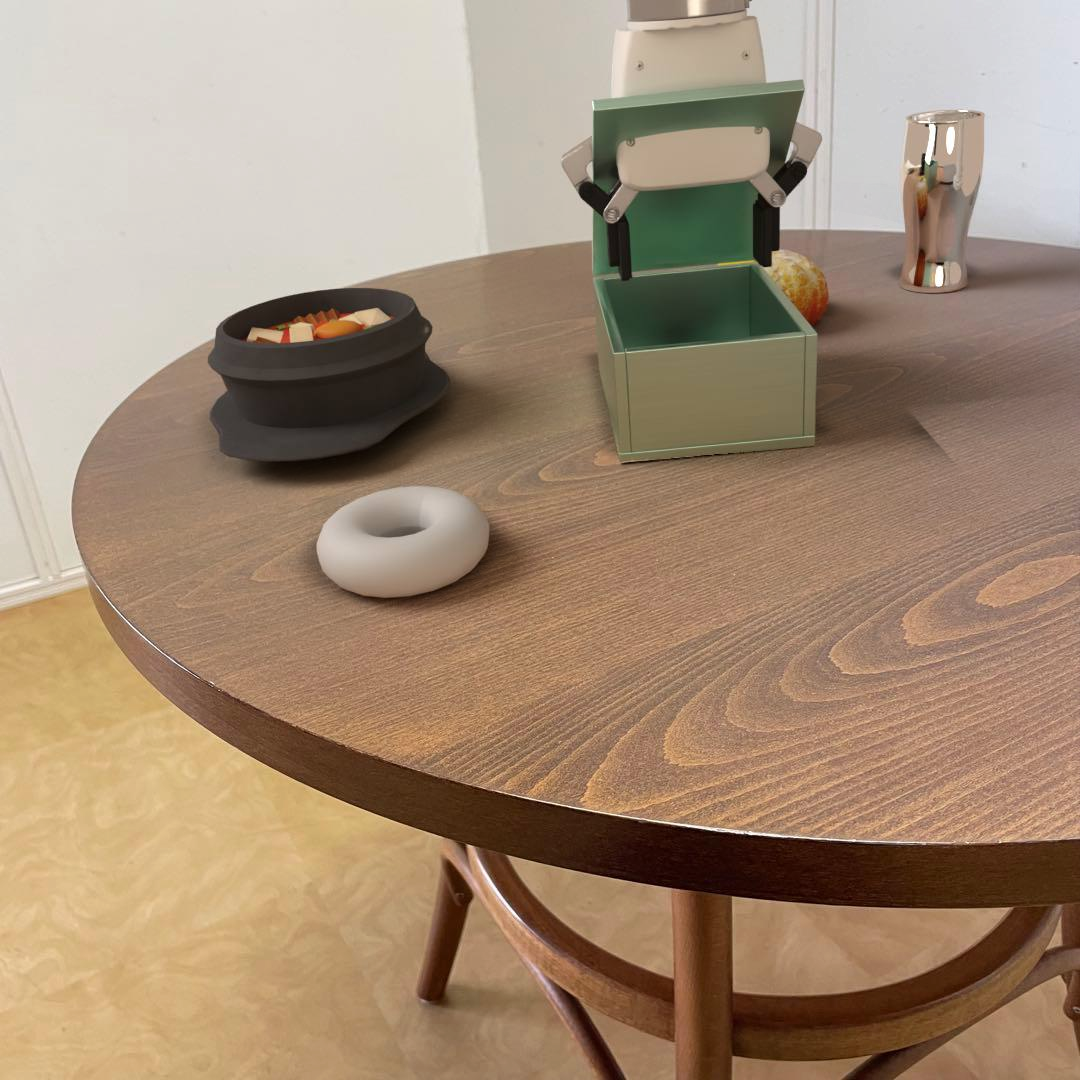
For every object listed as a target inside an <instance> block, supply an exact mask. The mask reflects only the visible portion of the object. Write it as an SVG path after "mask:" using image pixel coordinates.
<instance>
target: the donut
mask: <svg viewBox="0 0 1080 1080" xmlns="http://www.w3.org/2000/svg"><path fill="white" fill-rule="evenodd" d="M489 537H490V523H489V520H488V518H487V516H486V514H485V513H484V512H483V510H482V509H481V507H480V505H478V503H477V502H476V501H474V500H473V499H471V498H470V497H467V496H466V495H464V494H462V493H461V492H459V491H456V490H454V489H453V490H452V489H449V488H445V487H441V486H427V485H411V486H398V487H392V488H388V489H382V490H379V491H375V492H373V493H369V494H367V495H364V496H361V497H359V498H355V499H354V500H352V501H351V502H348V503H347V504H345V505H343V506H342V507H340V508H339V509H338V510H337V511H335V512H334V513H333V514H332V515H331V516H330V517H329V518H328V519H327V520H326V521H325V523H323V525H322V528H321V531H320V533H319V535H318V538H317V540H316V541H317V542H316V554H317V558H318V561H319V565H320V568H321V569H322V572H323V573H324V575H326V576H327V578H329V579H330V580H331V581H332V582H333V583H335V584H336V585H337V586H338V587H340V588H341V589H344V590H346V591H348V592H351V593H355V594H358V595H360V596H364V597H372V598H384V599H388V598H389V599H390V598H402V597H412V596H416V595H420V594H421V595H422V594H425V593H426V594H427V593H430V592H433V591H436V590H439V589H441V588H443V587H446V586H448V585H450V584H454V583H455V582H457V581H458V580H460V579H461V578H463V577H464V576H466V575H467V574H468V573H470V572H471V571H473V569H474V568H475V567H476V566H477V565H478V564H479V563H480V561H481V560H482V559H483V557H484V556H485V554H486V552H487V550H488V546H489V540H490V538H489Z"/></svg>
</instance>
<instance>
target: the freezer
mask: <svg viewBox="0 0 1080 1080" xmlns="http://www.w3.org/2000/svg"><path fill="white" fill-rule="evenodd" d="M717 265H718V264H717ZM717 265H706V266H699V267H698V266H696V267H688V268H687V267H685V268H678V269H677V268H675V269H665V270H656V271H655V270H654V271H647V272H646V271H644V272H633V273H632V278H630V279H629V281H622V280H621V278H620V275H619V274H614V275H603V276H593V277H592V282H593V285H592V286H593V298H594V299H593V300H594V313H595V314H594V315H595V328H596V329H595V330H596V343H597V344H596V346H597V357H598V372H599V376H600V380H601V385H602V390H603V394H604V398H605V399H604V400H605V403H606V408H607V411H608V416H609V420H610V425H611V429H612V430H611V431H612V434H613V439H614V438H615V439H614V443H615V448H616V447H617V448H616V451H618V452H617V456H618V455H619V457H618V461H619V460H620V461H619V463H620V462H623V461H631V460H635V461H636V460H645V459H660V458H674V457H686V456H698V455H710V454H723V455H729V454H728V453H734V454H744V453H753V451H755V452H764V451H765V452H766V451H776V450H786V449H787V450H788V449H797V448H807V447H809V448H810V447H815V446H816V422H817V421H816V419H817V417H816V416H817V379H818V377H817V376H818V372H817V371H818V341H819V340H818V339H819V334H818V332H817V331H816V330H815V329H814V327H813V326H811V325H810V324H809V323H808V322H807V320H806V319H805V318H804V317H803V316H802V314H801V313H800V312H799V311H798V310H797V308H796V307H795V306H794V305H793V303H792V302H791V301H790V300H789V299H788V297H787V296H786V295H785V294H784V292H783V291H782V290H781V289H780V288H779V286H778V285H777V284H776V283H775V282H774V280H773V279H772V278H771V277H770V275H769V274H768V273H767V272H766V271H765V269H764V268H763V267H762V266H760V265H759V263H758V262H750V263H738V264H728V265H718V266H717ZM740 452H741V453H740ZM743 452H744V453H743Z"/></svg>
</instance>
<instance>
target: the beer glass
mask: <svg viewBox="0 0 1080 1080" xmlns="http://www.w3.org/2000/svg"><path fill="white" fill-rule="evenodd" d="M985 116H986V114H985V112H983V111H979V110H974V109H940V110H930V111H922V112H921V111H920V112H917V113H912V114H909V115H907V116H906V117H905V124H904V125H905V126H904V131H903V133H904V134H903V140H902V147H901V148H902V149H901V158H900V175H899V177H900V180H899V181H900V182H899V183H900V184H899V185H900V197H901V207H902V214H903V215H902V216H903V223H904V233H905V251H904V258H903V263H902V267H901V271H900V275H899V279H898V280H899V281H898V284H899V286H900V287H901V289H904V290H906V291H909V292H913V293H921V294H943V293H951V292H956V291H960V290H962V289H964V288H965V287H967V285H968V272H967V264H966V247H967V242H968V241H967V240H968V234H969V230H970V226H971V223H972V219H973V215H974V211H975V208H976V204H977V200H978V196H979V193H980V187H981V181H982V177H983V170H984V169H983V168H984V158H985V155H984V154H985Z"/></svg>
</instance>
